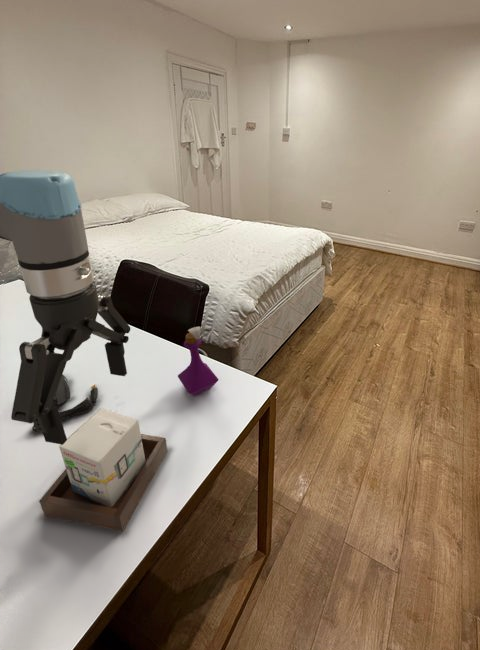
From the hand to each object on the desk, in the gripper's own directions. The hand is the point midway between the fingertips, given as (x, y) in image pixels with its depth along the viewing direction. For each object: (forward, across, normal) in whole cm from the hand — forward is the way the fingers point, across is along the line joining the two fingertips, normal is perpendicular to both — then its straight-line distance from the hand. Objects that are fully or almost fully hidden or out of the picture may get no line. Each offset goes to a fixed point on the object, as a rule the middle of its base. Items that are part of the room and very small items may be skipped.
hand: (91, 403), depth 52 cm
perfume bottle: (+19, +24, -7) cm, 31 cm away
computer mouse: (+19, +16, +22) cm, 33 cm away
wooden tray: (+19, 0, -1) cm, 19 cm away
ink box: (+18, 0, -1) cm, 18 cm away
